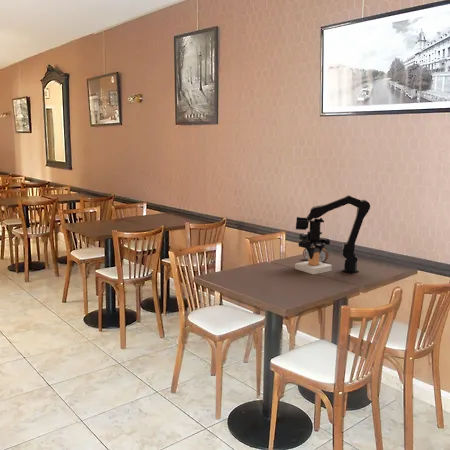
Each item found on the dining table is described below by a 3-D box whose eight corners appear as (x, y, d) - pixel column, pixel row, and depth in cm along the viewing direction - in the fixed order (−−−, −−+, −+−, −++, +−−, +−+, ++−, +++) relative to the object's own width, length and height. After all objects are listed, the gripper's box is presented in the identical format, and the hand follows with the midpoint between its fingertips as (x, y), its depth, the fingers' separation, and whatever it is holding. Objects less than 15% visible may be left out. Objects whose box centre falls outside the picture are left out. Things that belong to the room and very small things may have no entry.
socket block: (313, 265, 272) (313, 260, 271) (331, 270, 260) (332, 265, 260) (295, 268, 264) (295, 263, 263) (313, 274, 252) (313, 269, 252)
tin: (328, 262, 278) (329, 248, 277) (326, 263, 276) (327, 249, 274) (304, 259, 286) (304, 245, 285) (302, 260, 284) (302, 246, 282)
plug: (313, 263, 264) (314, 247, 263) (318, 264, 261) (319, 248, 259) (308, 264, 262) (308, 248, 260) (313, 265, 259) (314, 249, 257)
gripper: (316, 226, 270) (315, 253, 273) (291, 229, 259) (291, 257, 262) (331, 229, 261) (329, 257, 264) (306, 232, 250) (305, 261, 253)
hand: (313, 258), depth 261 cm, fingers closed on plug, 4 cm apart
